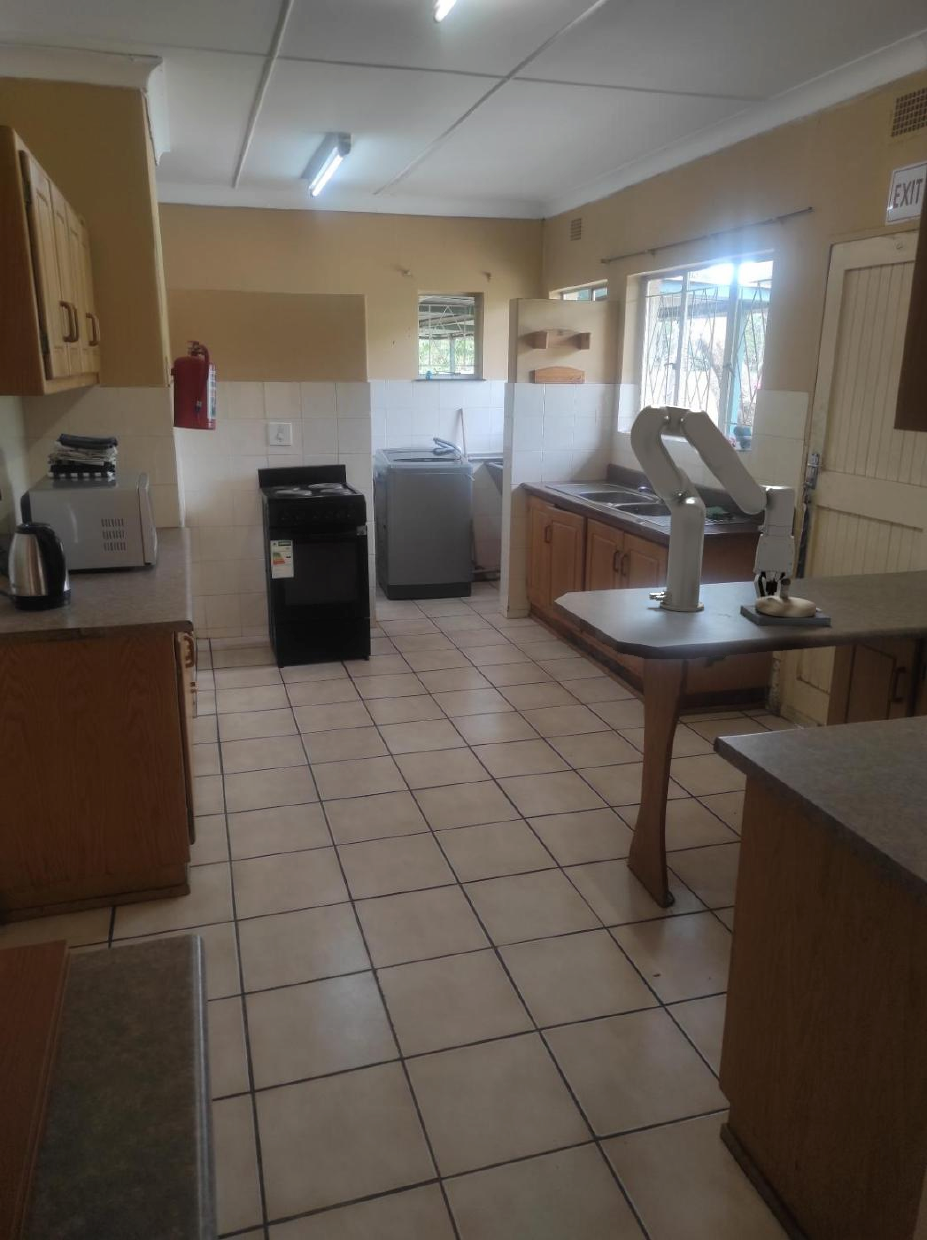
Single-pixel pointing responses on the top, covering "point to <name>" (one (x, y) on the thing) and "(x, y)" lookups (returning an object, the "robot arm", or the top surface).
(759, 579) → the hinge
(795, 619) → the wheel base
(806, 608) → the wheel
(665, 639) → the top surface
